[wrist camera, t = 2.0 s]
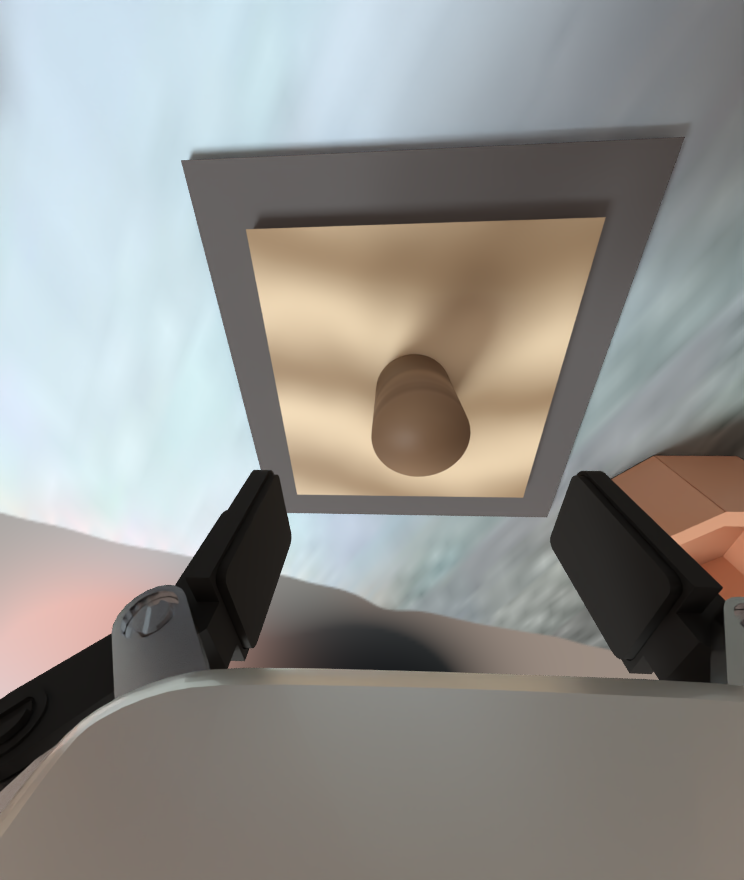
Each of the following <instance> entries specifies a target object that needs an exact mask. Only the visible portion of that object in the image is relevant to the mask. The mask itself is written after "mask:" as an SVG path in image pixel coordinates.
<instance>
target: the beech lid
mask: <svg viewBox="0 0 744 880" xmlns="http://www.w3.org/2000/svg"><path fill="white" fill-rule="evenodd" d="M605 218H606V217H599V218H569V219H540V220H510V221H480V222H450V223H420V224H390V225H360V226H331V227H301V228H271V229H246V232H247V238H248V243H249V248H250V253H251V258H252V263H253V269H254V274H255V279H256V284H257V289H258V294H259V300H260V305H261V310H262V315H263V320H264V325H265V331H266V336H267V341H268V346H269V351H270V357H271V362H272V367H273V372H274V377H275V382H276V388H277V393H278V398H279V403H280V408H281V413H282V419H283V424H284V429H285V434H286V439H287V444H288V450H289V455H290V460H291V465H292V470H293V475H294V481H295V486H296V491H297V495H370V496H443V497H516V498H523V496H524V493H525V489H526V486H527V483H528V479H529V476H530V472H531V469H532V466H533V462H534V459H535V455H536V452H537V449H538V445H539V442H540V439H541V435H542V432H543V428H544V425H545V422H546V418H547V415H548V411H549V408H550V405H551V401H552V398H553V394H554V391H555V388H556V384H557V381H558V377H559V374H560V371H561V367H562V364H563V361H564V357H565V354H566V350H567V347H568V344H569V340H570V337H571V333H572V330H573V327H574V323H575V320H576V316H577V313H578V310H579V306H580V303H581V299H582V296H583V293H584V289H585V286H586V283H587V279H588V276H589V272H590V269H591V266H592V262H593V259H594V255H595V252H596V249H597V245H598V242H599V238H600V235H601V232H602V228H603V225H604V221H605Z"/></svg>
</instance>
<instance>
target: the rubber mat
mask: <svg viewBox="0 0 744 880" xmlns="http://www.w3.org/2000/svg"><path fill="white" fill-rule="evenodd" d="M684 138H685V137H676V138H655V139H633V140H612V141H590V142H568V143H547V144H525V145H504V146H482V147H461V148H439V149H417V150H396V151H374V152H353V153H331V154H309V155H288V156H266V157H245V158H223V159H202V160H181V162H182V166H183V170H184V174H185V178H186V181H187V185H188V189H189V193H190V197H191V201H192V205H193V209H194V212H195V216H196V220H197V224H198V228H199V232H200V236H201V240H202V243H203V247H204V251H205V255H206V259H207V263H208V267H209V271H210V274H211V278H212V282H213V286H214V290H215V294H216V298H217V302H218V305H219V309H220V313H221V317H222V321H223V325H224V329H225V333H226V336H227V340H228V344H229V348H230V352H231V356H232V360H233V364H234V367H235V371H236V375H237V379H238V383H239V387H240V391H241V395H242V398H243V402H244V406H245V410H246V414H247V418H248V422H249V426H250V429H251V433H252V437H253V441H254V445H255V449H256V453H257V457H258V460H259V464H260V468H261V470H272V471H273V472H274V474H277V475H278V476H279V478H280V483H281V487H282V492H283V497H284V502H285V506H286V511H287V513H329V514H388V515H447V516H506V517H547V516H548V513H549V511H550V508H551V505H552V502H553V499H554V497H555V494H556V491H557V488H558V486H559V483H560V480H561V477H562V475H563V472H564V469H565V466H566V464H567V461H568V458H569V455H570V453H571V450H572V447H573V444H574V441H575V439H576V436H577V433H578V430H579V428H580V425H581V422H582V419H583V417H584V414H585V411H586V408H587V406H588V403H589V400H590V397H591V395H592V392H593V389H594V386H595V384H596V381H597V378H598V375H599V372H600V370H601V367H602V364H603V361H604V359H605V356H606V353H607V350H608V348H609V345H610V342H611V339H612V337H613V334H614V331H615V328H616V326H617V323H618V320H619V317H620V315H621V312H622V309H623V306H624V303H625V301H626V298H627V295H628V292H629V290H630V287H631V284H632V281H633V279H634V276H635V273H636V270H637V268H638V265H639V262H640V259H641V257H642V254H643V251H644V248H645V246H646V243H647V240H648V237H649V234H650V232H651V229H652V226H653V223H654V221H655V218H656V215H657V212H658V210H659V207H660V204H661V201H662V199H663V196H664V193H665V190H666V188H667V185H668V182H669V179H670V176H671V174H672V171H673V168H674V165H675V163H676V160H677V157H678V154H679V152H680V149H681V146H682V143H683V141H684ZM599 217H606V218H605V221H604V225H603V228H602V232H601V235H600V238H599V242H598V245H597V249H596V252H595V255H594V259H593V262H592V266H591V269H590V272H589V276H588V279H587V283H586V286H585V289H584V293H583V296H582V299H581V303H580V306H579V310H578V313H577V316H576V320H575V323H574V327H573V330H572V333H571V337H570V340H569V344H568V347H567V350H566V354H565V357H564V361H563V364H562V367H561V371H560V374H559V377H558V381H557V384H556V388H555V391H554V394H553V398H552V401H551V405H550V408H549V411H548V415H547V418H546V422H545V425H544V428H543V432H542V435H541V439H540V442H539V445H538V449H537V452H536V455H535V459H534V462H533V466H532V469H531V472H530V476H529V479H528V483H527V486H526V489H525V493H524V496H523V498H516V497H443V496H370V495H297V491H296V486H295V481H294V475H293V470H292V465H291V460H290V455H289V450H288V444H287V439H286V434H285V429H284V424H283V419H282V413H281V408H280V403H279V398H278V393H277V388H276V382H275V377H274V372H273V367H272V362H271V357H270V351H269V346H268V341H267V336H266V331H265V325H264V320H263V315H262V310H261V305H260V300H259V294H258V289H257V284H256V279H255V274H254V269H253V263H252V258H251V253H250V248H249V243H248V238H247V232H246V229H271V228H301V227H331V226H360V225H390V224H420V223H450V222H480V221H510V220H540V219H569V218H599Z"/></svg>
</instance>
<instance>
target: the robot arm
mask: <svg viewBox="0 0 744 880" xmlns="http://www.w3.org/2000/svg"><path fill="white" fill-rule="evenodd" d="M550 543H551V547H552V549H553V551H554V552H555V554H556V556H557V558H558V559H559V561H560V563H561V564H562V566H563V568H564V570H565V571H566V573H567V575H568V577H569V578H570V580H571V582H572V583H573V585H574V587H575V589H576V590H577V592H578V594H579V596H580V597H581V599H582V601H583V602H584V604H585V606H586V608H587V609H588V611H589V613H590V615H591V616H592V618H593V620H594V621H595V623H596V625H597V627H598V628H599V630H600V632H601V634H602V635H603V637H604V639H605V640H606V642H607V644H608V646H609V647H610V649H611V651H612V652H613V654H614V655H615V656H616V657H617V658H619V659H621V660H622V661H623V663H624V665H625V666H626V668H627V670H628V671H629V673H638V674H652V673H653V672H654V673H655V674H656V676H657V677H658V679H659V680H647V679H623V678H595V677H570V676H544V675H543V676H542V675H515V674H483V673H452V672H421V671H387V670H385V671H384V670H383V671H382V670H348V669H312V668H309V669H308V668H234V669H228V666H229V663H230V661H245V659H246V656H247V654H248V651H249V648H254V647H255V645H256V644H257V641H258V638H259V635H260V632H261V630H262V627H263V623H264V621H265V618H266V614H267V612H268V609H269V606H270V603H271V600H272V597H273V594H274V591H275V588H276V585H277V582H278V579H279V576H280V573H281V570H282V568H283V565H284V562H285V559H286V556H287V553H288V550H289V547H290V544H291V530H290V526H289V521H288V516H287V511H286V506H285V502H284V497H283V492H282V487H281V483H280V478H279V476H278V475H277V474H274V472H273V471H272V470H253V471H252V473H251V474H250V476H249V477H248V479H247V480H246V482H245V484H244V485H243V487H242V488H241V490H240V491H239V493H238V494H237V496H236V498H235V499H234V501H233V502H232V504H231V505H230V507H229V509H228V510H226V511H224V512H223V513H222V514H221V516H220V517H219V519H218V520H217V522H216V523H215V525H214V526H213V528H212V529H211V531H210V533H209V534H208V536H207V537H206V539H205V540H204V542H203V543H202V545H201V546H200V548H199V549H198V551H197V552H196V554H195V556H194V557H193V559H192V560H191V562H190V563H189V565H188V566H187V568H186V569H185V571H184V573H183V574H182V575H181V577H180V579H179V580H178V582H177V583H176V585H175V586H174V585H164V586H158V587H155V588H153V589H150V590H147V591H145V592H144V593H142V594H140V595H139V596H137V597H136V598H134V599H133V600H132V601H131V602H130V603H129V604H127V605H126V606H125V608H124V609H123V610H122V611H121V612H120V613H119V615H118V616H117V619H116V620H115V622H114V624H113V628H112V634H110V635H108V636H106V637H105V638H103V639H101V640H99V641H98V642H96V643H94V644H93V645H91V646H89V647H87V648H86V649H84V650H82V651H81V652H79V653H77V654H75V655H74V656H72V657H70V658H69V659H67V660H65V661H63V662H62V663H60V664H58V665H57V666H55V667H53V668H51V669H50V670H48V671H46V672H45V673H43V674H41V675H39V676H38V677H36V678H34V679H33V680H31V681H29V682H27V683H26V684H24V685H23V686H20V687H19V688H17V689H15V690H14V691H12V692H10V693H9V694H7V695H6V696H5V697H3V698H2V699H0V880H744V597H731V598H729V599H727V600H726V601H725V600H724V599H723V598H722V597H721V596H720V595H719V594H718V593H719V592H720V591H721V590H722V589H723V587H722V586H721V585H720V584H719V583H718V582H717V581H716V580H715V579H714V578H713V577H712V576H711V575H710V574H709V573H708V572H707V571H706V570H705V569H704V568H703V567H701V566H700V565H699V564H698V563H697V562H696V561H695V560H694V559H693V558H692V557H691V556H690V555H689V554H688V553H687V552H686V551H685V550H684V549H683V548H682V547H681V546H680V545H679V544H678V543H677V542H676V541H675V540H674V539H673V538H671V537H670V536H669V535H668V534H667V533H666V532H665V531H664V530H663V529H662V528H661V527H660V526H659V525H658V524H657V523H656V522H655V521H654V520H653V519H652V518H651V517H650V516H649V515H648V514H647V513H646V512H645V511H644V510H643V509H641V508H640V507H639V506H638V505H637V504H636V503H635V502H634V501H633V500H632V499H631V498H630V497H629V496H628V495H627V494H626V493H625V492H624V491H623V490H622V489H621V488H620V487H619V486H618V485H617V484H616V483H615V482H614V481H613V480H611V479H610V478H609V477H608V476H607V475H606V474H605V473H604V472H602V471H581V472H579V473H578V474H577V476H573V477H572V479H571V481H570V484H569V487H568V490H567V492H566V495H565V498H564V501H563V503H562V506H561V509H560V512H559V515H558V517H557V520H556V523H555V526H554V529H553V531H552V534H551V537H550Z"/></svg>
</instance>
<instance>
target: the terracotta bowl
mask: <svg viewBox="0 0 744 880" xmlns="http://www.w3.org/2000/svg"><path fill="white" fill-rule="evenodd" d="M611 480H613V481H614V482H615V483H616V484H617V485H618V486H619V487H620V488H621V489H622V490H623V491H624V492H625V493H626V494H627V495H628V496H629V497H630V498H631V499H632V500H633V501H634V502H635V503H636V504H637V505H638V506H639V507H640V508H641V509H643V510H644V511H645V512H646V513H647V514H648V515H649V516H650V517H651V518H652V519H653V520H654V521H655V522H656V523H657V524H658V525H659V526H660V527H661V528H662V529H663V530H664V531H665V532H666V533H667V534H668V535H669V536H670V537H671V538H673V539H674V540H675V541H676V542H677V543H678V544H679V545H680V546H681V547H682V548H683V549H684V550H685V551H686V552H687V553H688V554H689V555H690V556H691V557H692V558H693V559H694V560H695V561H696V562H697V563H698V564H699V565H700V566H701V567H703V568H704V569H705V570H706V571H707V572H708V573H709V574H710V575H711V576H712V577H713V578H714V579H715V580H716V581H717V582H718V583H719V584H720V585H721V586H722V587H723V589H722V590H721V591H720V592H719V593H718V594H719V595H720V596H721V597H722V598H723V599H724V600H725V601H726V600H727V599H729V598H731V597H744V460H742V459H741V458H739V457H737V456H652V457H650V458H649V459H647V460H645V461H643V462H641V463H640V464H638V465H636V466H634V467H632V468H631V469H629V470H627V471H625V472H623V473H622V474H620V475H618V476H616V477H614V478H613V479H611Z"/></svg>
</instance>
